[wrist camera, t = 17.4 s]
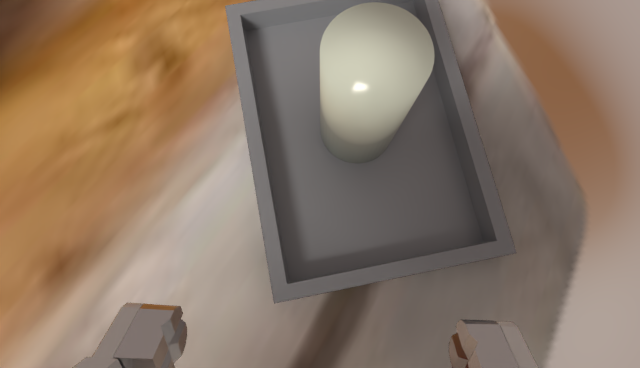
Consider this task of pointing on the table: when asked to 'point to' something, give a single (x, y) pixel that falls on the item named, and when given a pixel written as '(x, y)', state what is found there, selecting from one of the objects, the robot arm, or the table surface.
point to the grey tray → (358, 178)
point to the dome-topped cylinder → (370, 77)
